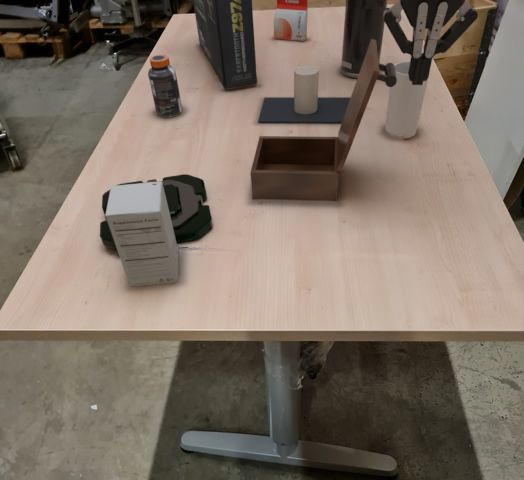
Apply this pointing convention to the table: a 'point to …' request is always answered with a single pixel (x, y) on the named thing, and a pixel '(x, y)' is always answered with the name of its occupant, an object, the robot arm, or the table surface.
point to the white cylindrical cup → (404, 103)
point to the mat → (284, 113)
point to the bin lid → (362, 99)
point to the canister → (306, 89)
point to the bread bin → (295, 168)
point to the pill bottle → (164, 87)
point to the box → (228, 39)
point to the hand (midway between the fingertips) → (416, 83)
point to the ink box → (291, 20)
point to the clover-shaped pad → (175, 208)
